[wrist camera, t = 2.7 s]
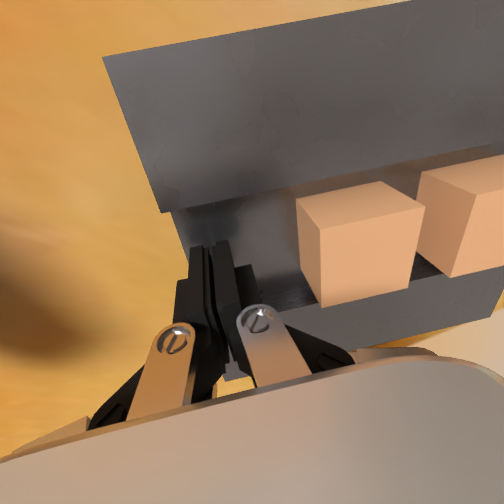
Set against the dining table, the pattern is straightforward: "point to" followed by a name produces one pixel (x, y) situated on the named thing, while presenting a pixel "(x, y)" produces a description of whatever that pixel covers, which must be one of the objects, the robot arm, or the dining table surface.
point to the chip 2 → (463, 216)
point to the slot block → (321, 144)
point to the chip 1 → (357, 241)
